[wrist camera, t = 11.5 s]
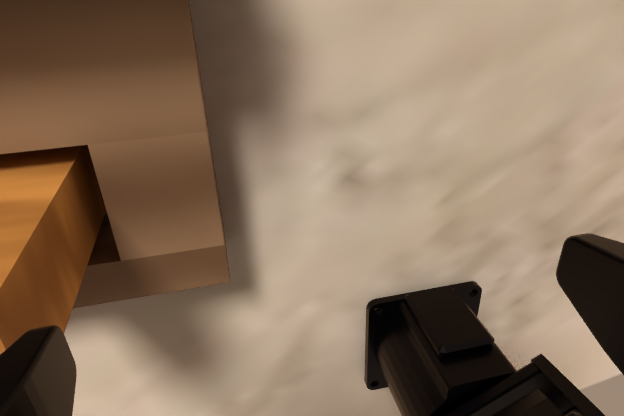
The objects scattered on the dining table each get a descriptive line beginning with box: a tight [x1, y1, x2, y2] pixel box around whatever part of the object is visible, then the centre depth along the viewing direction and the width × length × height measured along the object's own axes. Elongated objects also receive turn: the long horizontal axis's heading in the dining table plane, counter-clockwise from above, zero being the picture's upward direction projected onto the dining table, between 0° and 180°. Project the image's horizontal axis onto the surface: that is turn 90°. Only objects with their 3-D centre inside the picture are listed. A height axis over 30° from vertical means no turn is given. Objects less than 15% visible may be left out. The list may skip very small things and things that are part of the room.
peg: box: [0, 145, 106, 354], centre depth 14 cm, size 3×3×10 cm
